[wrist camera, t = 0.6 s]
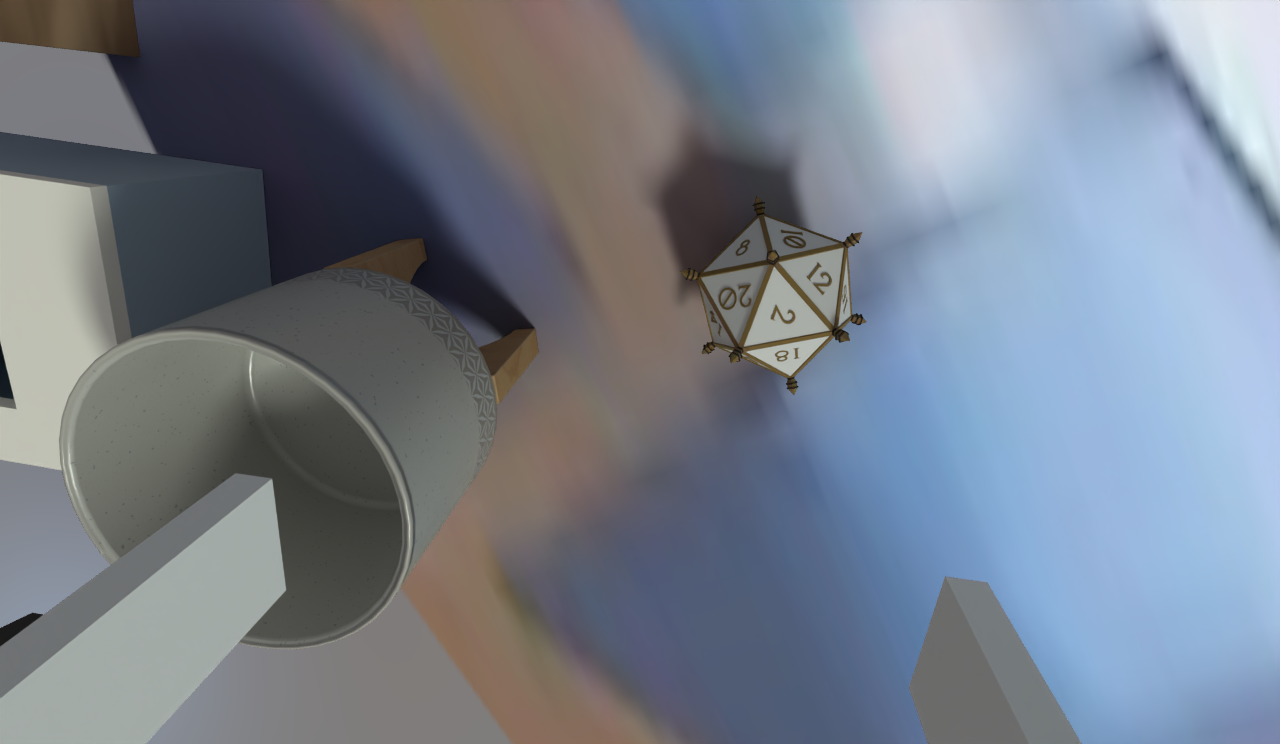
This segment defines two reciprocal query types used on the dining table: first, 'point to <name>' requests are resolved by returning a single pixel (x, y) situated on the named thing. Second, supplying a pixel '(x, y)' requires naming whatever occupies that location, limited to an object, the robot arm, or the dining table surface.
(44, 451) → the coin box
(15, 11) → the block
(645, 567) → the dining table surface
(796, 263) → the game die
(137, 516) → the planter
